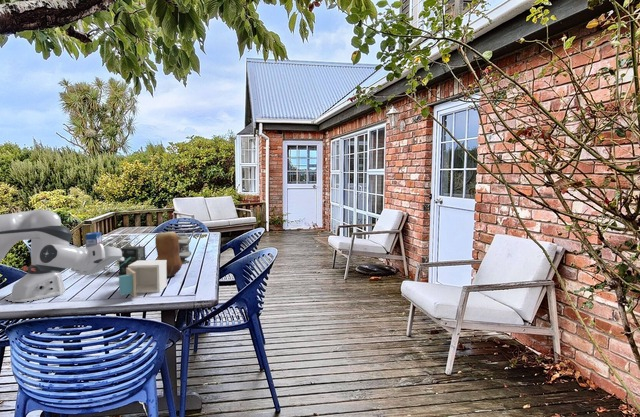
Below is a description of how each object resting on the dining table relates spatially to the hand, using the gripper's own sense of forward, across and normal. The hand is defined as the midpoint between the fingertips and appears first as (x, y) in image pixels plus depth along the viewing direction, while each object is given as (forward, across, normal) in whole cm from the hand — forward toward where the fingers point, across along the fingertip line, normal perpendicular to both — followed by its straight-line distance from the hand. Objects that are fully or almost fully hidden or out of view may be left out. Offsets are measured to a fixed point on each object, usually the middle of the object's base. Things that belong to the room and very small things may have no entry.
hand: (115, 264), depth 169 cm
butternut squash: (+45, -12, +4) cm, 47 cm away
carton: (+23, -6, -7) cm, 25 cm away
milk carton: (+49, -70, +38) cm, 93 cm away
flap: (+9, -6, -12) cm, 15 cm away
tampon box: (+44, -36, +17) cm, 59 cm away
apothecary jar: (+75, -25, +23) cm, 82 cm away
